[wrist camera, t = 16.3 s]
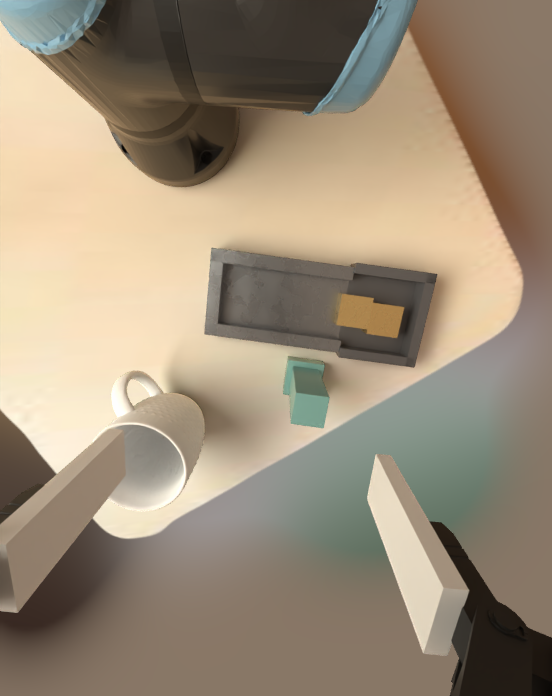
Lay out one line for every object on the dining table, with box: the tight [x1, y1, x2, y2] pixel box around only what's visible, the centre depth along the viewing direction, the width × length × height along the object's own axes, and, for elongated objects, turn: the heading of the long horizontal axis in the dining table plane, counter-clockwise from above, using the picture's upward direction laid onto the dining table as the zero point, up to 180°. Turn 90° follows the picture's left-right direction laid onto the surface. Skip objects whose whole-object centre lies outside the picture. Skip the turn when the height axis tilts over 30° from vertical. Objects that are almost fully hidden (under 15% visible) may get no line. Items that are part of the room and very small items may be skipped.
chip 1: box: [333, 293, 374, 329], centre depth 38 cm, size 4×4×2 cm
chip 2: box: [361, 302, 404, 338], centre depth 38 cm, size 4×4×2 cm
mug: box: [91, 371, 205, 511], centre depth 37 cm, size 15×11×13 cm
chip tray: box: [336, 263, 437, 367], centre depth 39 cm, size 12×10×3 cm
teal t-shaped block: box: [283, 356, 329, 428], centre depth 36 cm, size 5×5×12 cm
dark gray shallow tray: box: [205, 248, 355, 353], centre depth 39 cm, size 11×18×2 cm, turn 82°
